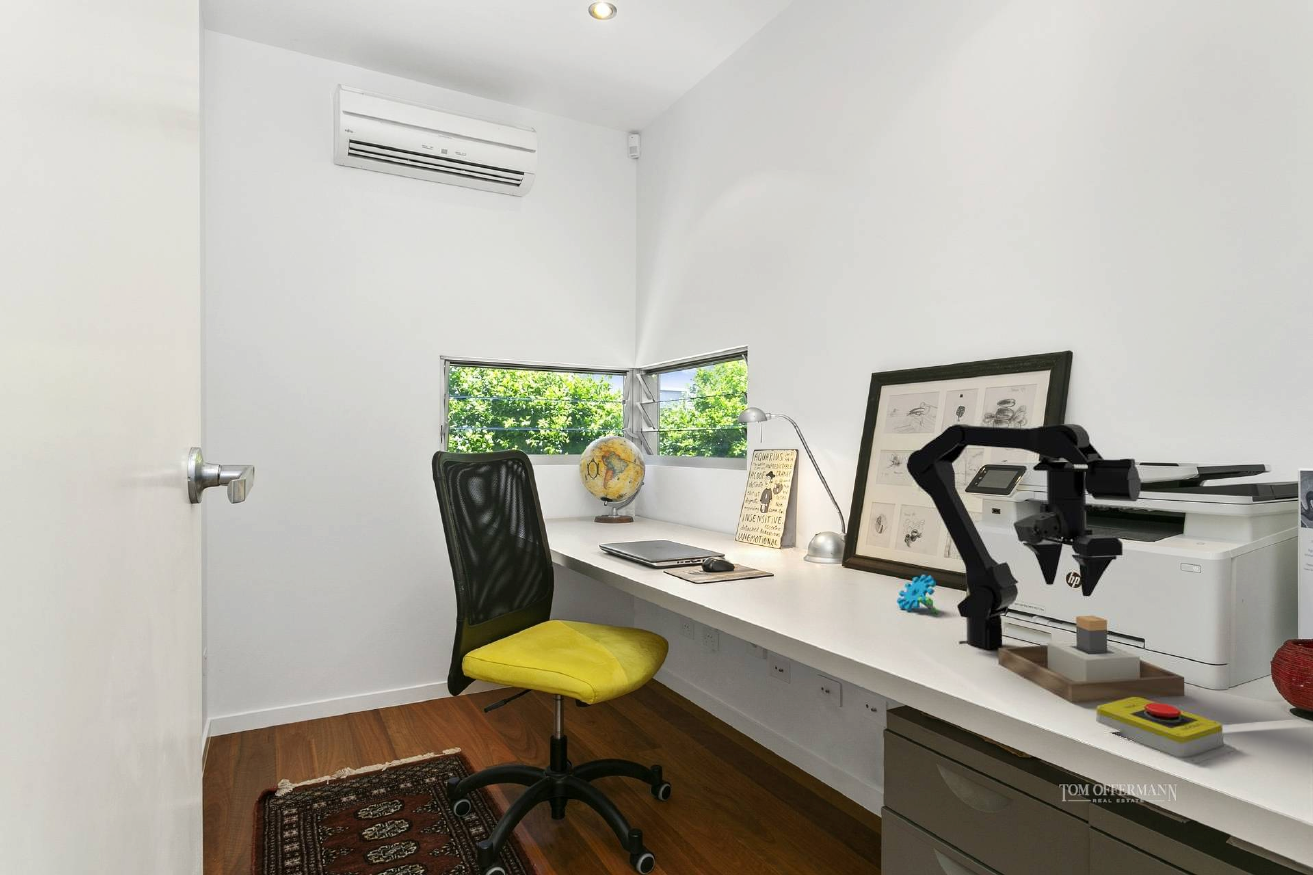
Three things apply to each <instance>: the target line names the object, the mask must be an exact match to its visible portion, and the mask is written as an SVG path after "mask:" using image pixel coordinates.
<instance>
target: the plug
mask: <svg viewBox="0 0 1313 875" xmlns="http://www.w3.org/2000/svg"><path fill="white" fill-rule="evenodd" d="M1075 624H1076V627H1075V628H1076V632H1075V633H1076V634H1075V636H1076V641H1077V650H1079V651H1082V652H1084V653H1086V654H1089V655H1091V654H1107V644H1108V619H1104V618H1101V617H1098V616H1096V615H1080V616H1079V615H1078V616H1076V618H1075Z"/></svg>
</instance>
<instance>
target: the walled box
mask: <svg viewBox="0 0 1313 875" xmlns="http://www.w3.org/2000/svg"><path fill="white" fill-rule="evenodd" d="M997 651H998V653H997V654H998V665H999V666H1001V667H1003V668H1005V669H1006V670H1009V671H1010V672H1011V673H1014V674H1016V675H1017V676H1019V677H1022V678H1024V679H1026V680H1027V681H1029V682H1031V683H1032V684H1034V685H1036V686H1039V687H1041V688H1043V689H1044V690H1046V691H1048V692H1049V693H1051V694H1053V695H1055V696H1057V697H1059V698H1061V699H1062V700H1064V701H1066V702H1068V703H1070V704H1081V703H1084V704H1085V703H1094V702H1095V703H1097V702H1110V701H1111V702H1115V701H1119V700H1123V699H1127V698H1130V697H1139V698H1143V699H1155V698H1157V699H1158V698H1172V697H1184V696H1185V695H1186V694H1185V677H1184V676H1182V675H1181V674H1180V675H1179V674H1177V673H1176V672H1175V673H1174V672H1172V671H1169V670H1167V669H1164V668H1162V667H1159V666H1156V665H1154V664H1152V663H1150V662H1147V661H1144V660H1142V659H1140V678H1131V679H1115V680H1099V681H1083V682H1075V681H1072V680H1070V679H1068V678H1066V677H1064V676H1062V675H1060V674H1058V673H1056V672H1054V671H1052V670H1050V669H1048V644H1046V645H1044V644H1043V645H1032V646H1031V645H1028V646H1014V647H1013V646H1012V647H1008V646H1007V647H1002V648H998V650H997Z"/></svg>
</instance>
